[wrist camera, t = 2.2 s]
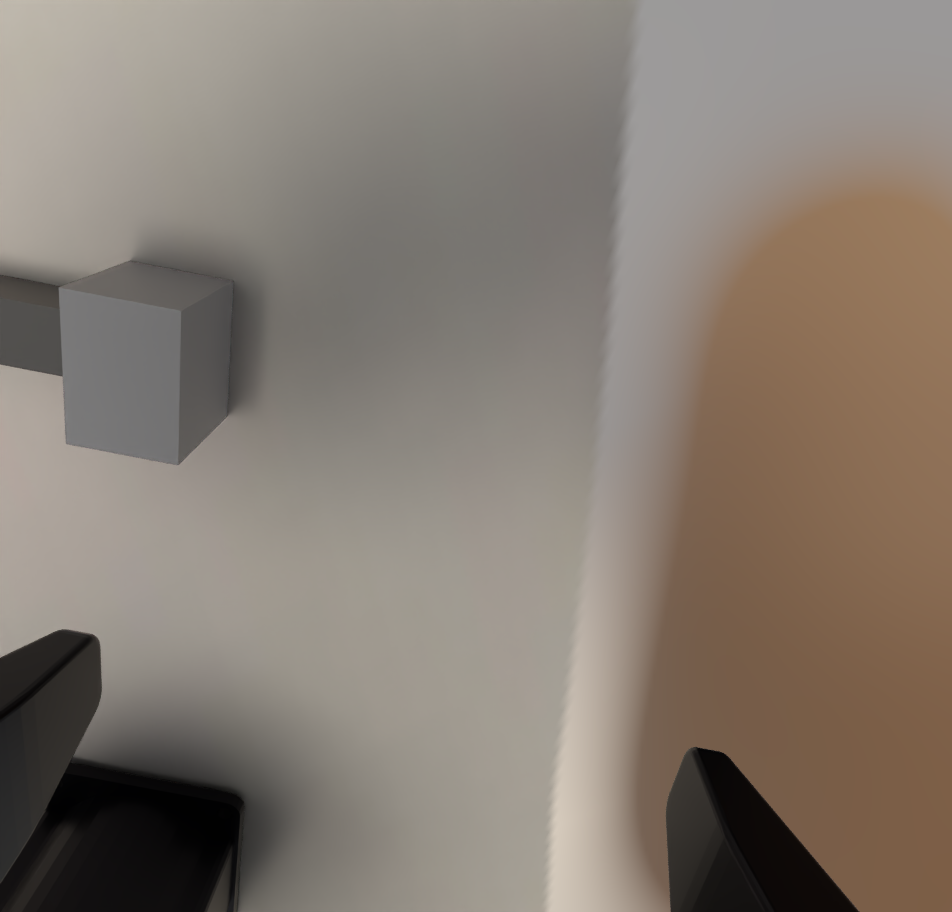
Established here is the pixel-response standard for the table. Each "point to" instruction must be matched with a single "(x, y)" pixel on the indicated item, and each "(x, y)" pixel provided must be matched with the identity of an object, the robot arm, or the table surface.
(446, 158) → the table surface
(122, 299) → the plug
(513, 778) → the table surface
